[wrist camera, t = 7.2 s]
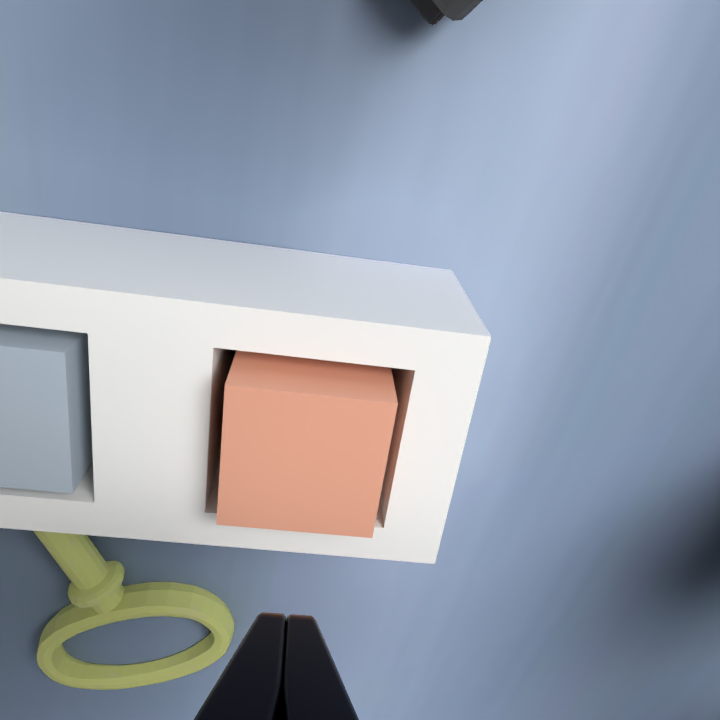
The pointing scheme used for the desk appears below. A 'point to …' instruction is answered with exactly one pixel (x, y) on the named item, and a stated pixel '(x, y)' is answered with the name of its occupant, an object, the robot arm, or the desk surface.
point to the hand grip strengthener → (444, 9)
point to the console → (211, 368)
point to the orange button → (304, 444)
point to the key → (123, 618)
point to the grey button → (44, 408)
